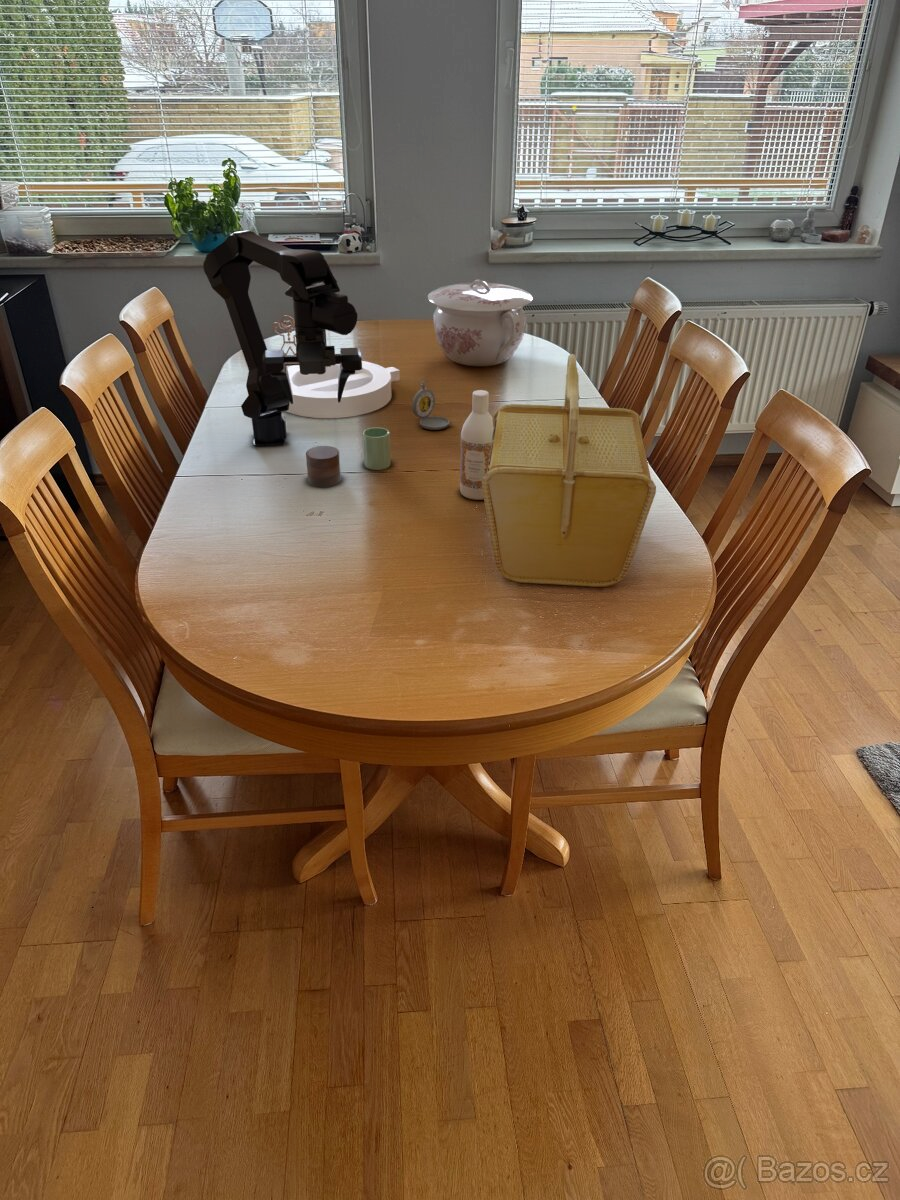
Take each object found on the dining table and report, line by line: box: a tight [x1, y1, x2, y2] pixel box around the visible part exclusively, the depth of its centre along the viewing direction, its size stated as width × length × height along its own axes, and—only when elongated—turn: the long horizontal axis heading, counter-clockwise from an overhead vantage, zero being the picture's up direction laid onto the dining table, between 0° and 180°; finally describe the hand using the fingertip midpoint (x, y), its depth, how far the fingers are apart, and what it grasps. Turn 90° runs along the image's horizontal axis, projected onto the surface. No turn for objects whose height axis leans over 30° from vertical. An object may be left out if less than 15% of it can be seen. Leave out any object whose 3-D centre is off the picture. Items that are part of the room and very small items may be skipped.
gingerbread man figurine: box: [272, 314, 296, 355], centre depth 232 cm, size 9×4×12 cm, turn 85°
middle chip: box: [306, 461, 341, 478], centre depth 172 cm, size 6×6×2 cm
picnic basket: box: [482, 353, 657, 588], centre depth 143 cm, size 29×26×30 cm
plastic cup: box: [362, 427, 391, 471], centre depth 178 cm, size 5×5×7 cm
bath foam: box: [459, 389, 494, 501], centre depth 164 cm, size 7×7×20 cm
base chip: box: [307, 471, 342, 488], centre depth 173 cm, size 6×6×2 cm
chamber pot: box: [427, 279, 534, 368], centre depth 232 cm, size 28×28×21 cm
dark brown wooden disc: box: [305, 445, 340, 469], centre depth 171 cm, size 6×6×2 cm
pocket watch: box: [411, 377, 450, 431], centre depth 196 cm, size 8×8×10 cm
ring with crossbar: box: [286, 360, 401, 419], centre depth 212 cm, size 28×28×5 cm
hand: (315, 402), depth 174 cm, fingers open, 9 cm apart
